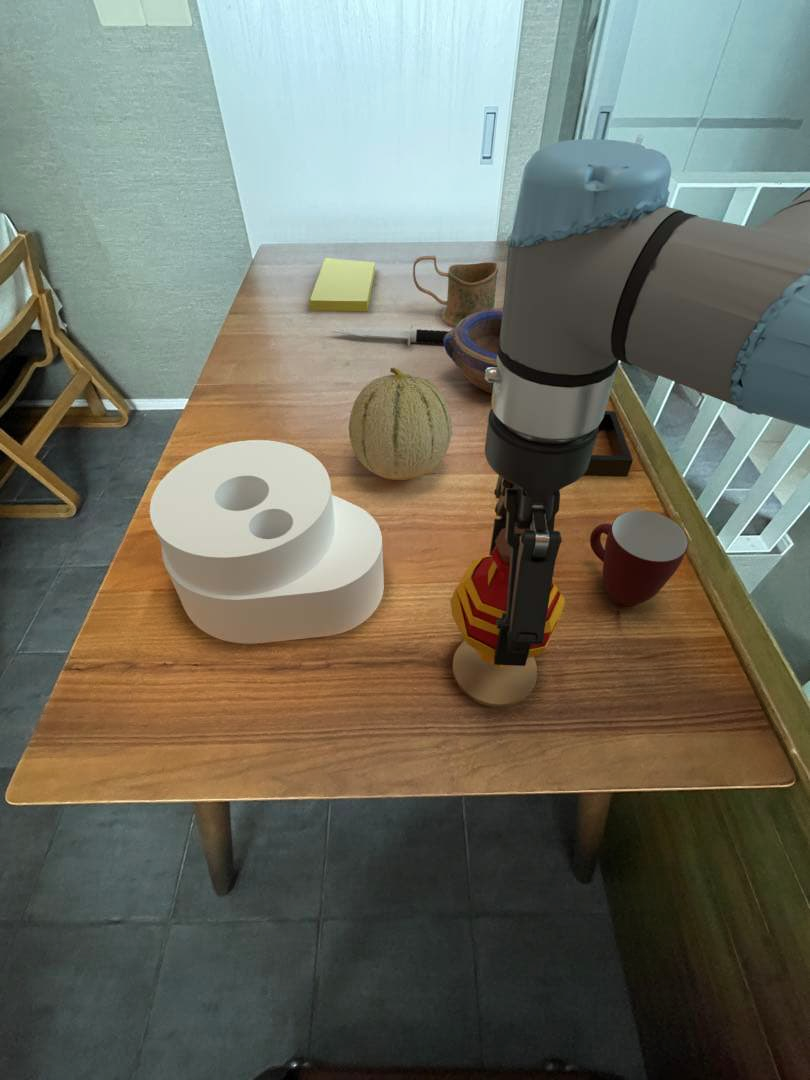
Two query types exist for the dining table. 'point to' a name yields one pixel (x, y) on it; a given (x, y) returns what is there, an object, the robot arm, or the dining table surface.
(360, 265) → the yellow flat block
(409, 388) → the cantaloupe
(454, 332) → the bowl
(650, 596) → the mug
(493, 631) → the potion bottle
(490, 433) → the robot arm
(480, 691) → the coaster
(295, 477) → the white stepped block
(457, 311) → the mug
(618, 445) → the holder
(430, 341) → the knife
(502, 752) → the dining table surface
